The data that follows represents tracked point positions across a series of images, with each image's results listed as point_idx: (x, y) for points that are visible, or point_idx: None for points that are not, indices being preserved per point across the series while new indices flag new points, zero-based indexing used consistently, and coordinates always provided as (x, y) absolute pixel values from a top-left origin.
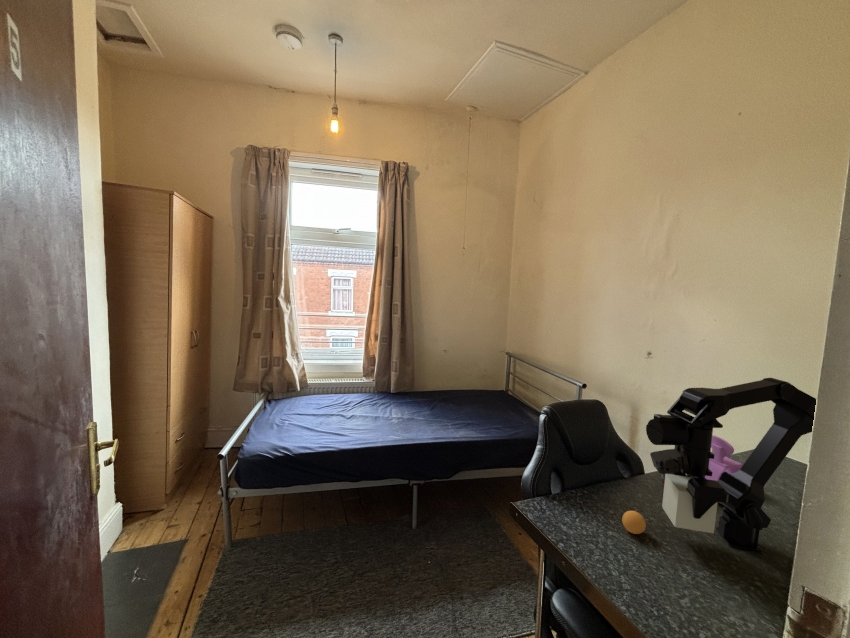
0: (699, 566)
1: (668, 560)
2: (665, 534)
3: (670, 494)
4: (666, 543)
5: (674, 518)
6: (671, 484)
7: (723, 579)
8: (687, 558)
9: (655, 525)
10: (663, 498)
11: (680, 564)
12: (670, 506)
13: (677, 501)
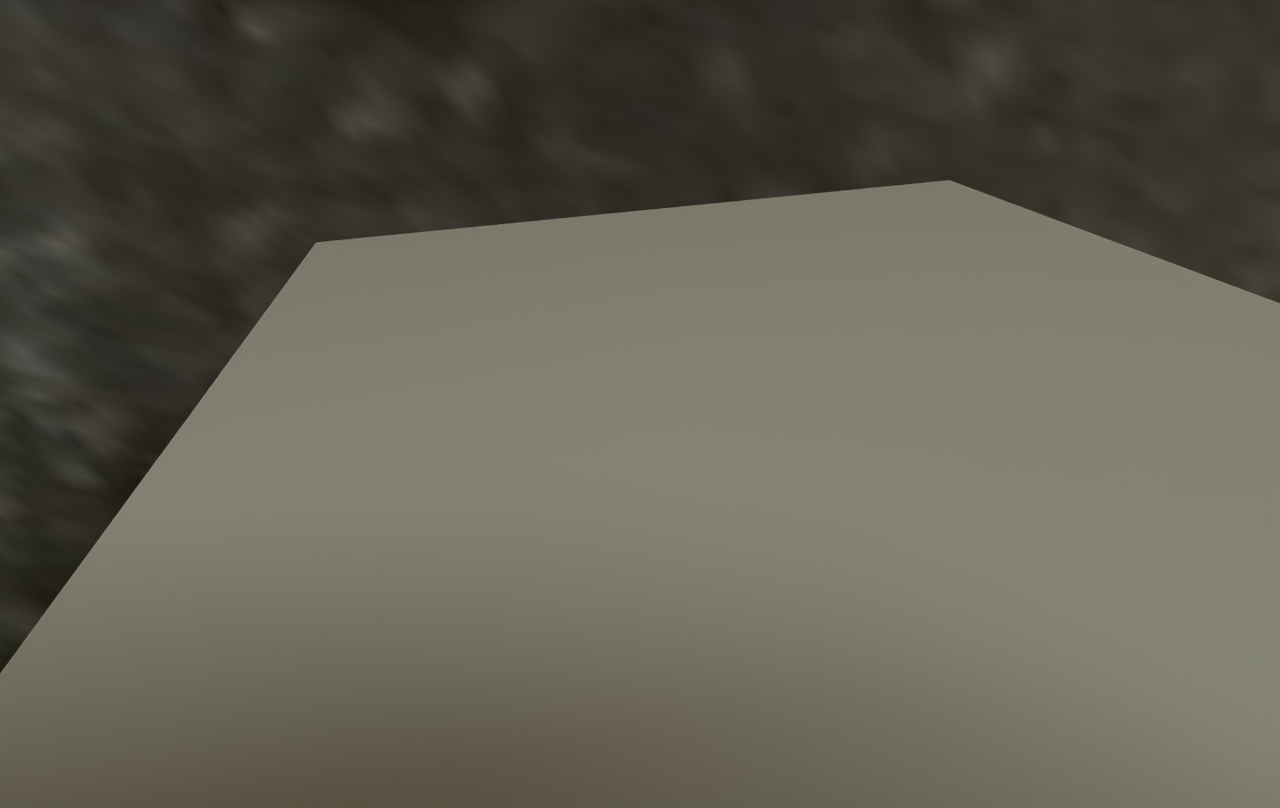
0: (167, 384)
1: (48, 30)
2: (667, 156)
3: (798, 406)
4: (462, 114)
5: (347, 277)
6: (1055, 715)
7: (74, 549)
8: (256, 293)
9: (834, 73)
10: (1043, 228)
11: (59, 174)
12: (633, 289)
13: (98, 551)
